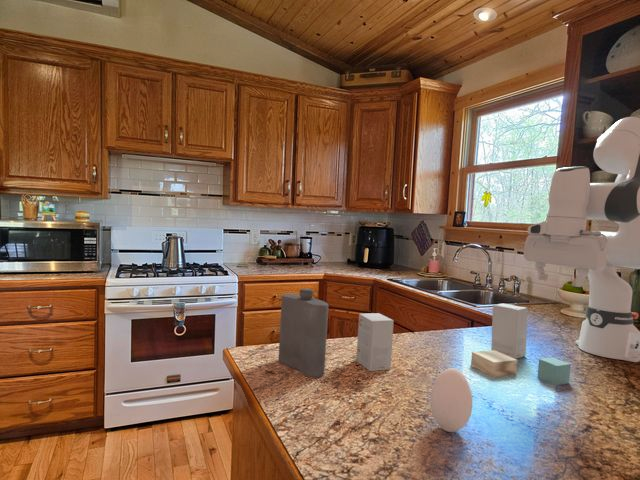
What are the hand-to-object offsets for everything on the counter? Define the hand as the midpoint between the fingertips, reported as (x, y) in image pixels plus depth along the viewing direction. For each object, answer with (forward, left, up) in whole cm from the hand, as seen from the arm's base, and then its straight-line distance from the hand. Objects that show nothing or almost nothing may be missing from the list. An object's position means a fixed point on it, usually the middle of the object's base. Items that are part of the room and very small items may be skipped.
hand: (558, 283), depth 103 cm
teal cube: (+1, +1, -25) cm, 25 cm away
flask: (+61, -23, -25) cm, 69 cm away
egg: (+45, +13, -25) cm, 53 cm away
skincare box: (-4, -18, -25) cm, 31 cm away
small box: (+42, -20, -25) cm, 52 cm away
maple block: (+11, -9, -25) cm, 29 cm away
